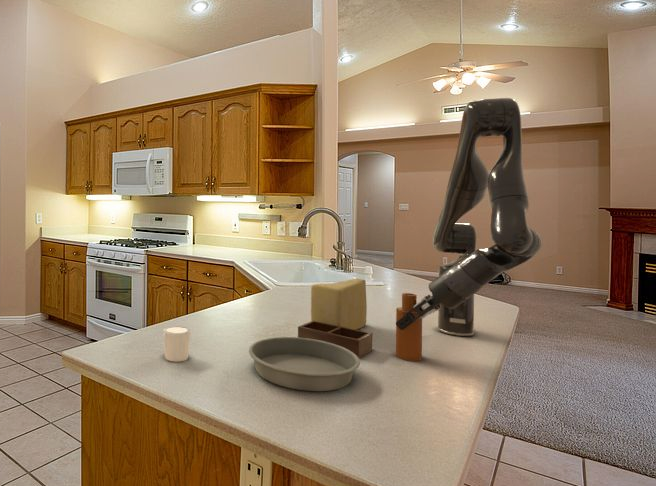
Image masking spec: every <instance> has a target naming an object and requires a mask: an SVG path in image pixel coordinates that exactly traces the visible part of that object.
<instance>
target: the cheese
mask: <svg viewBox="0 0 656 486" xmlns="http://www.w3.org/2000/svg"><path fill="white" fill-rule="evenodd" d="M310 291H311V292H310V320H311V321H317V322H322V323H327V324H331V325H336V326H341V327H346V328H350V329H355V330H359V329H361V328H364V327H365V326H366V325H367V315H368V314H367V312H368V310H367V309H368V308H367V307H368V303H367V285H366V280H365V278H352V279H348V280H343V281H339V282H331V283H314V284H312V285H311V288H310ZM311 321H310V322H311Z"/></svg>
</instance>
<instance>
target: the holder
mask: <svg viewBox="0 0 656 486" xmlns="http://www.w3.org/2000/svg"><path fill="white" fill-rule="evenodd" d="M297 337H298V338H308V339H315V340H320V341H325V342H329V343H332V344H336V345H338V346H341V347H344V348H346V349H348V350H350V351H351V352H353V353H354V354H355V355H356V356H357V357H358V358H359V359H361V358H362V357H364V356H366V355H367V354H369V353H370V352H372V351H373V332H369V331H364V330H359V329H357V330H355V329H350V328H346V327H341V326H336V325H331V324H327V323H322V322H317V321H309V322H306V323H303V324H301V325H299V326H297Z"/></svg>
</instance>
